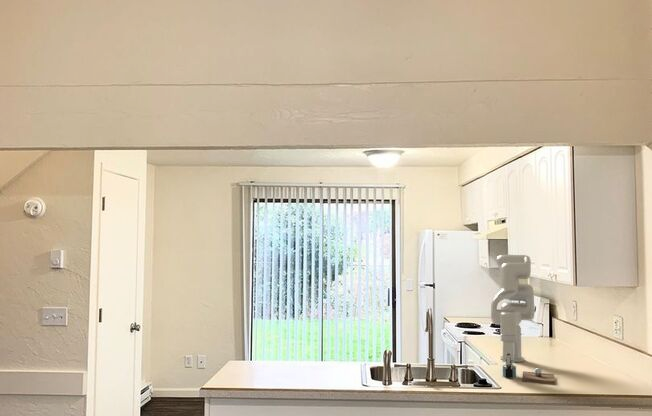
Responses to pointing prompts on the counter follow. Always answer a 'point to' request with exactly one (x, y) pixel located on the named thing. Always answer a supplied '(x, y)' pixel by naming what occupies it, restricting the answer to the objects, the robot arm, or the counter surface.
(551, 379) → the brown flat square piece
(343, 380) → the counter surface
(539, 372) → the post
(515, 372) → the cap
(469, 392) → the counter surface
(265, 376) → the counter surface
